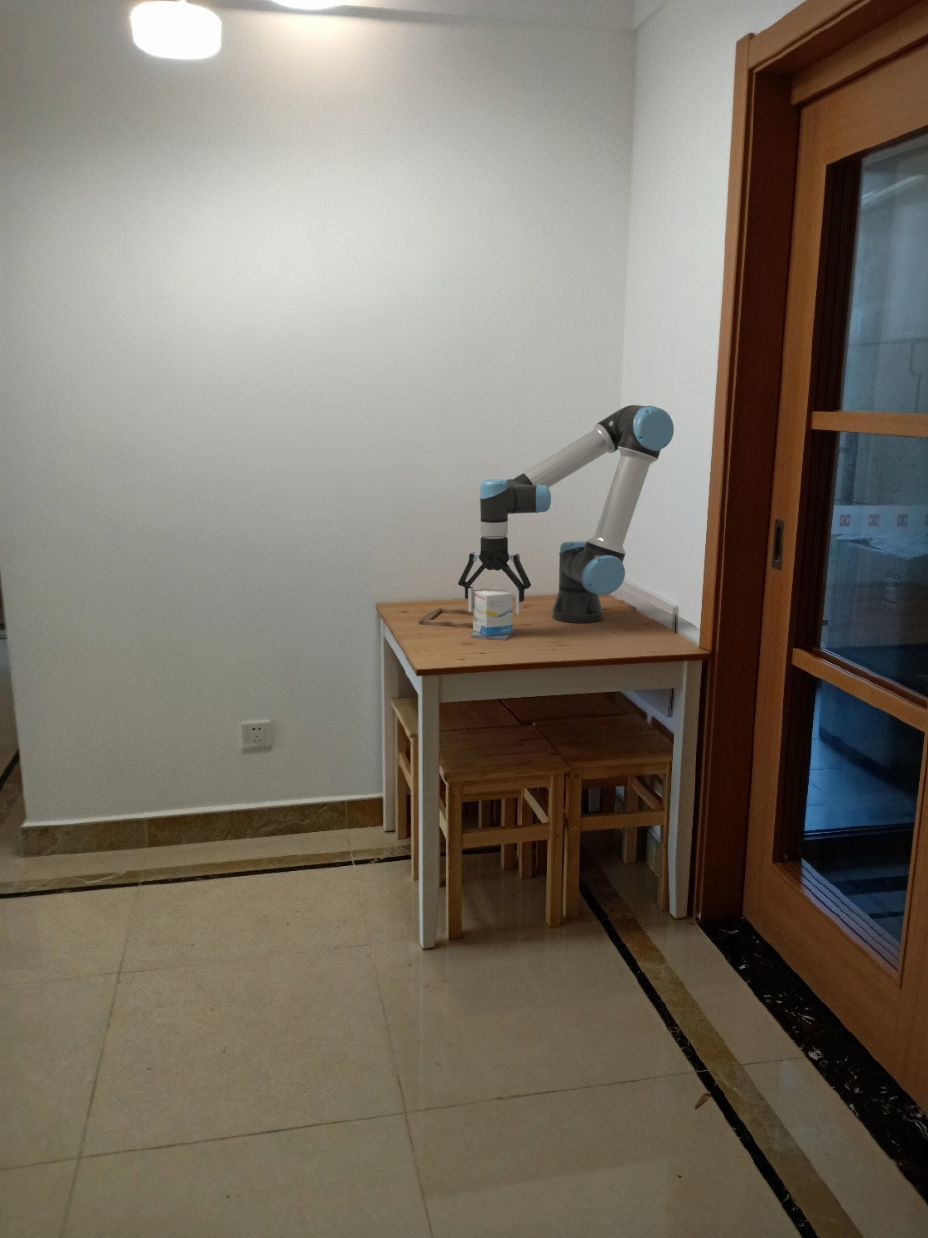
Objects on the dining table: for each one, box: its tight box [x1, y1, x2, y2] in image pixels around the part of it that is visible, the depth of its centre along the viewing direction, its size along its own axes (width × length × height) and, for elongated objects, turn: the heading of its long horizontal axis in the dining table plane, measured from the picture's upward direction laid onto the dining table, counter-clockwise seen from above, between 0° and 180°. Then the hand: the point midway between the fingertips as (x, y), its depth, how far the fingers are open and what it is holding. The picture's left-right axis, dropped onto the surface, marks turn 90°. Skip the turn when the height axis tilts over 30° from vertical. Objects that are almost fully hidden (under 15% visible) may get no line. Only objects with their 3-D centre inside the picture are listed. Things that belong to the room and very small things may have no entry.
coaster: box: [470, 628, 515, 641], centre depth 284 cm, size 10×10×1 cm
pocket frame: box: [418, 607, 473, 629], centre depth 302 cm, size 18×18×1 cm
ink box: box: [472, 587, 514, 636], centre depth 283 cm, size 9×8×12 cm
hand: (494, 611), depth 283 cm, fingers open, 13 cm apart
